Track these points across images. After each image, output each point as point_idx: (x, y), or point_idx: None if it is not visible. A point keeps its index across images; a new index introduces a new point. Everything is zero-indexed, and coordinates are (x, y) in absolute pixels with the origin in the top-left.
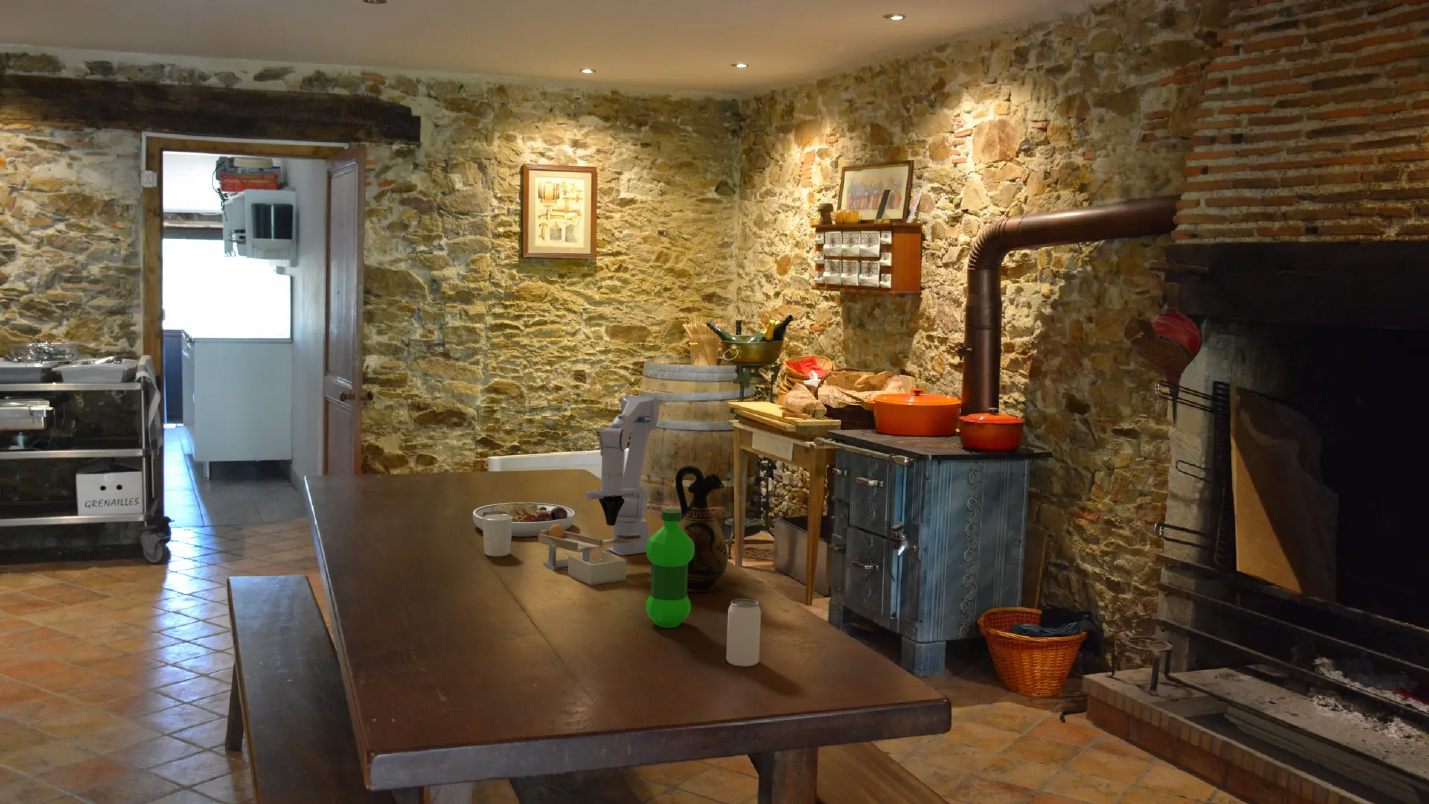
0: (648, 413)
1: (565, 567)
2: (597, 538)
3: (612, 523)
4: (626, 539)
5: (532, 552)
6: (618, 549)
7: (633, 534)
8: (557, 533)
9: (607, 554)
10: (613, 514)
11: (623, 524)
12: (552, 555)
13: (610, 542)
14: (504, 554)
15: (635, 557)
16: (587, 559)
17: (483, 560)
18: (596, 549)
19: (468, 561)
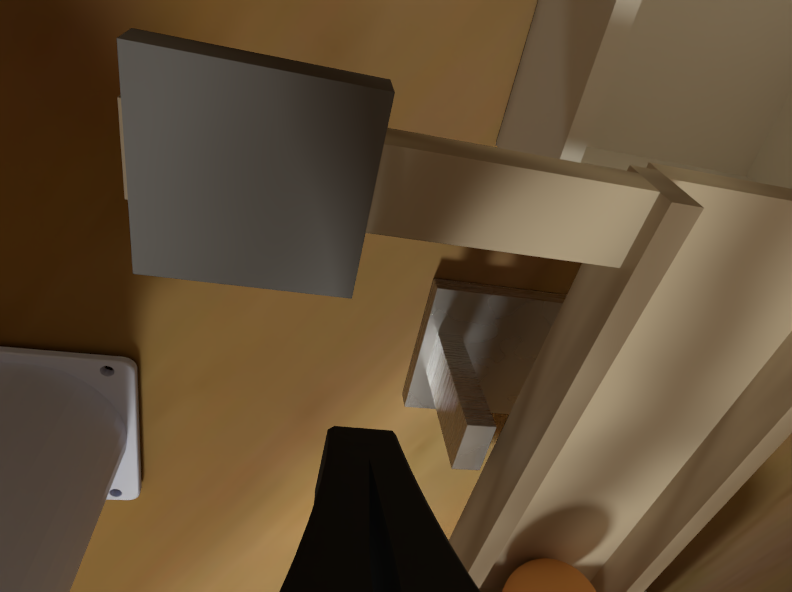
0: None
1: None
2: (616, 302)
3: (376, 447)
4: (385, 81)
5: None
6: (112, 422)
7: (190, 159)
8: (585, 586)
9: (608, 81)
10: (398, 551)
11: (2, 575)
12: None
13: (559, 165)
14: None
15: (53, 283)
16: (456, 339)
17: (715, 562)
18: (690, 171)
19: (758, 570)
